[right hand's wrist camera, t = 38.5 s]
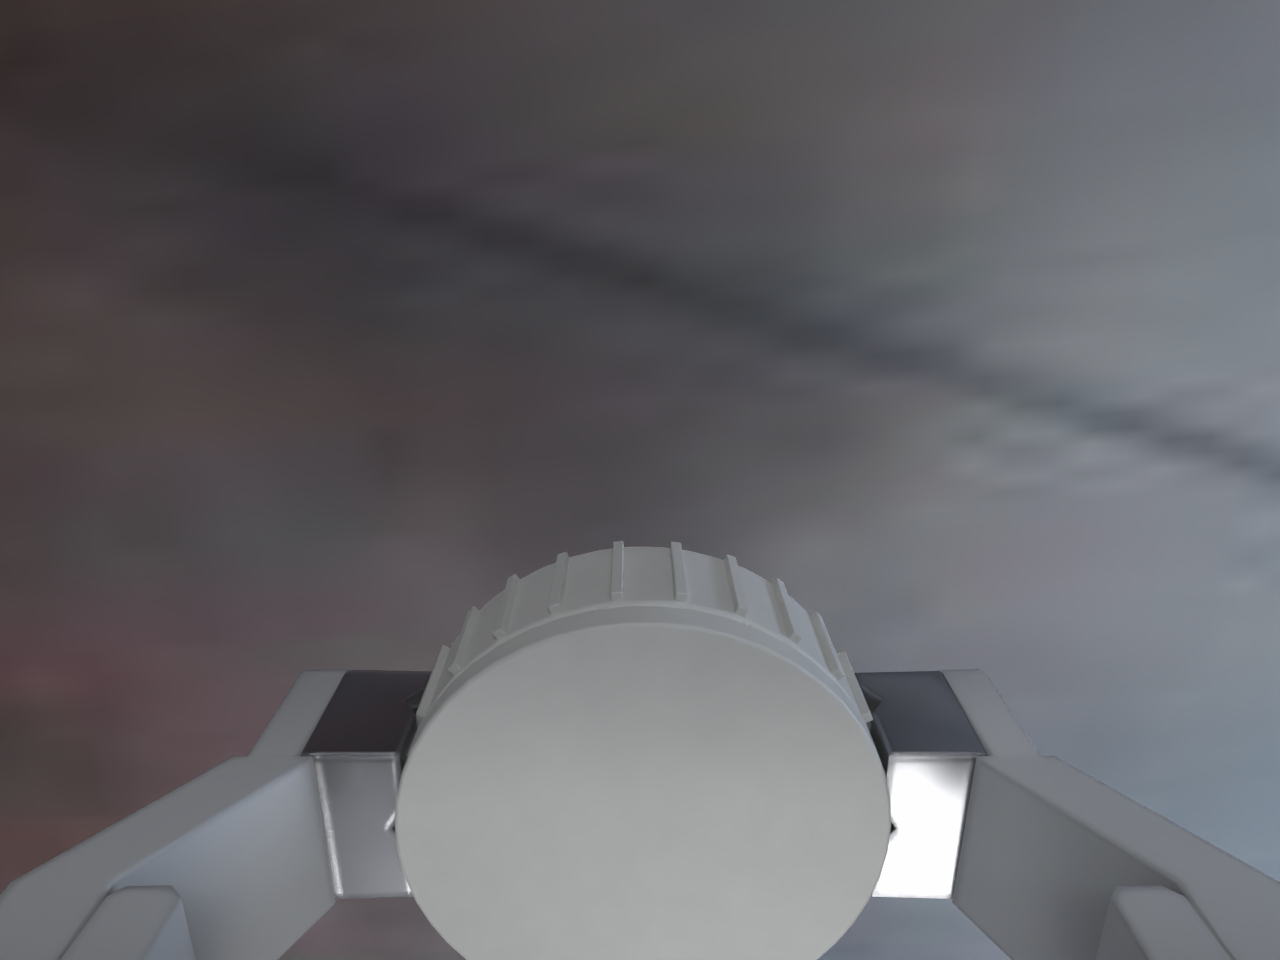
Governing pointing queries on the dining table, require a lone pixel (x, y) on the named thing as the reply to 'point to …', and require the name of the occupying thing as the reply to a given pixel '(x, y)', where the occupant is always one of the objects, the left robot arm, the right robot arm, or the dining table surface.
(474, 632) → the lid
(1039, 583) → the dining table surface
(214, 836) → the right robot arm
